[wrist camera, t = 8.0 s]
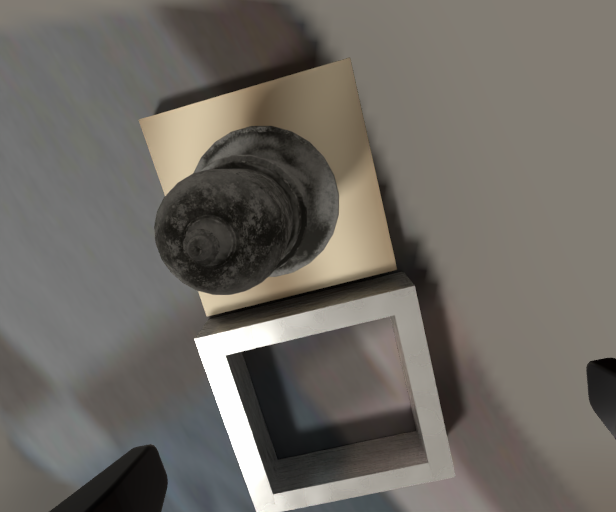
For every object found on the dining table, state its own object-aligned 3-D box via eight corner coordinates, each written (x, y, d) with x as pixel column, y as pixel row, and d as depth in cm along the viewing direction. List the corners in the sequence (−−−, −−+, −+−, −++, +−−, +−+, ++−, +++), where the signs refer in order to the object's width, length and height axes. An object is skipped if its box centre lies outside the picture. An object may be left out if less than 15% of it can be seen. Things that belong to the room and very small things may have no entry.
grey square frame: (403, 271, 20) (414, 285, 18) (440, 443, 23) (455, 476, 20) (208, 319, 21) (194, 339, 19) (264, 479, 23) (258, 516, 21)
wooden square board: (347, 64, 18) (350, 57, 17) (392, 263, 20) (397, 269, 19) (149, 122, 19) (138, 119, 18) (213, 308, 21) (206, 316, 20)
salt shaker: (217, 125, 18) (17, 43, 6) (344, 142, 18) (393, 94, 6) (208, 248, 19) (31, 381, 7) (326, 264, 19) (337, 422, 7)
